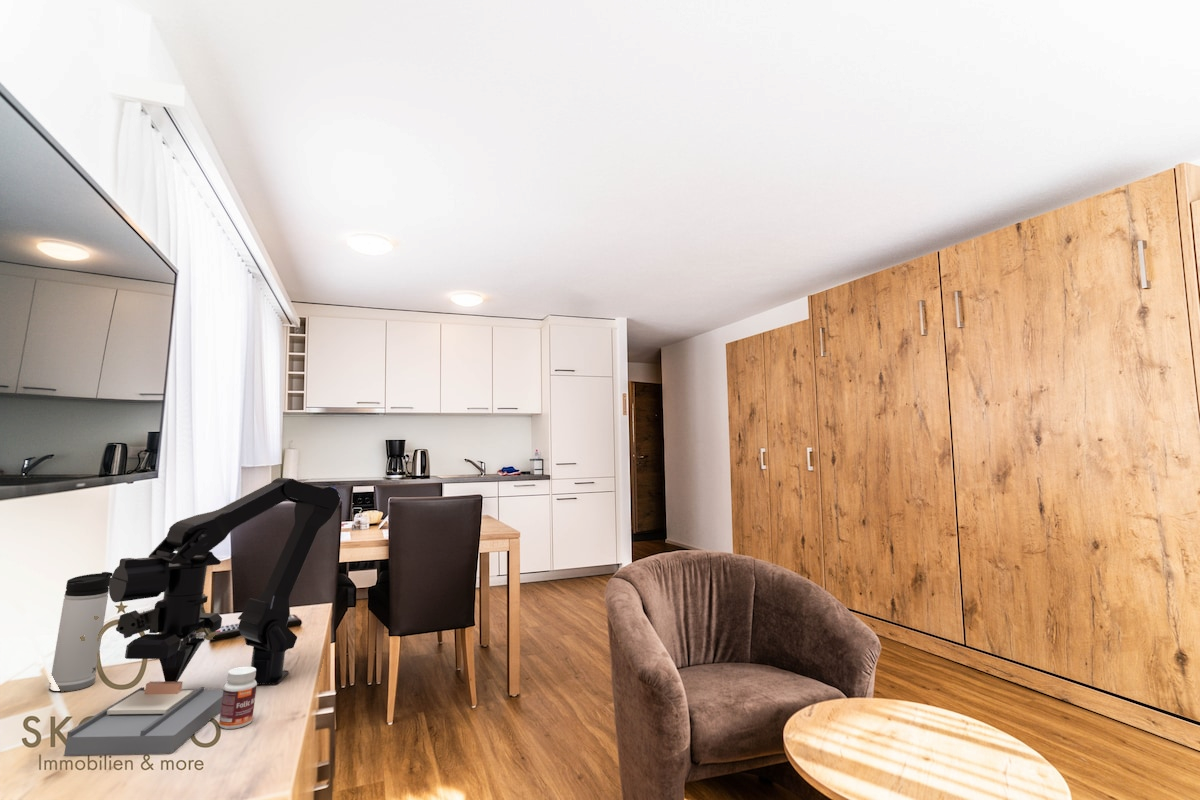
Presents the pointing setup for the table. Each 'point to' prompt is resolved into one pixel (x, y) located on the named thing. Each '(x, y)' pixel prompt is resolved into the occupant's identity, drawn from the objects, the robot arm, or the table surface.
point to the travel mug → (80, 631)
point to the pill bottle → (238, 698)
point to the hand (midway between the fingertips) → (170, 685)
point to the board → (144, 727)
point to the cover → (152, 699)
